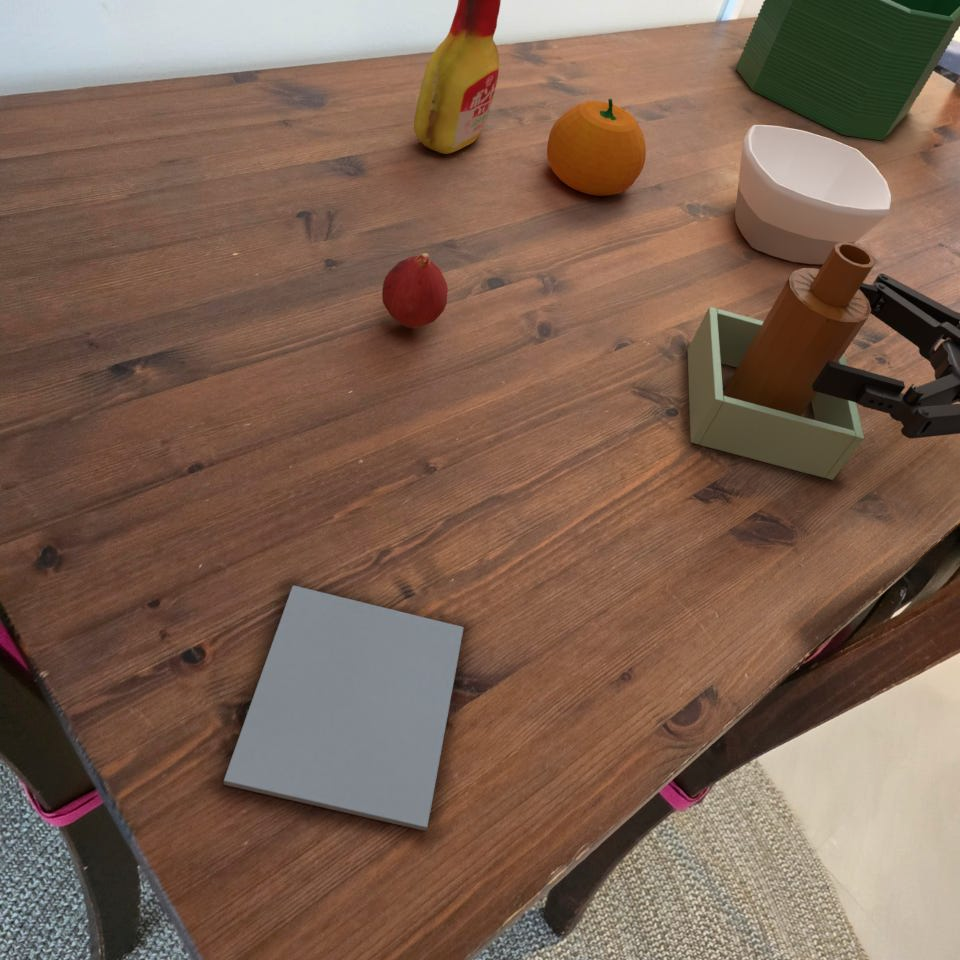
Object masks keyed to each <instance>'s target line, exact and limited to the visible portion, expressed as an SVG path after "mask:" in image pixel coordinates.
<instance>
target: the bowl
mask: <svg viewBox="0 0 960 960" xmlns="http://www.w3.org/2000/svg"><path fill="white" fill-rule="evenodd" d="M737 184H738V185H737V192H736V200H735V209H734V216H735V223H736V224H735V225H736V226H737V228H738V229H739V231H740V233H741V236H742V237H743V238H744V239H745V240H746V242H747V243H748V244H749V246H750V247H751V248H752V249H754V250H755V251H758V252H761V253H763V254H766V255H768V256H771V257H775V258H778V259H781V260H785V261H788V262H791V263H800V264H807V265H823V264H824V262H825V261H826V259H827V257H828V256H829V254H830V252H831V251H832V249H833V248H834V246H835V245H836V244H837V243H838V242H849V243H852V244H855V243H856V242H858V241H860V239H861V238H863V237H865V235H867V234H868V233H869V232H870V231H871V230H873V229H874V228H875V227H877V226H878V225H879V224H880V223H881V222H882V221H883V220H884V221H885V219H886V218H887V217H888V216H889V214H890V210H891V203H892V194H891V191H890V188H889V185H888V182H887V180H886V178H885V177H884V176H883V175H882V173H881V172H880V171H879V169H878V168H877V166H875V164H874V163H873V162H872V161H870V160H869V159H868V158H867V156H865V155H864V154H863V153H862V152H861V151H860V150H858V149H857V148H855V147H852V146H850V145H847V144H845V143H843V142H840V141H837V140H835V139H833V138H829V137H826V136H822V135H819V134H816V133H812V132H810V131H806V130H802V129H797V128H790V127H787V126H780V125H769V124H768V125H767V124H753V125H752V126H751V127H749V129H748V130H747V132H746V134H745V136H744V138H743V141H742V146H741V155H740V164H739V172H738V183H737Z"/></svg>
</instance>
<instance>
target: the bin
mask: <svg viewBox="0 0 960 960" xmlns="http://www.w3.org/2000/svg"><path fill="white" fill-rule="evenodd" d="M763 322H764V320H761V319H757V318H754V317H750V316H746V315H743V314H739V313H735V312H732V311H728V310H724V309H721V308H717V307H712V306H709V307H708V308H707V310H706V312H705V314H704V316H703V318H702V320H701V322H700V324H699V326H698V328H697V329H696V331H695V334H694V336H693V338H692V339H691V342H690V343H689V346H688V348H687V349H686V350H687V374H688V375H687V377H688V378H687V379H688V403H689V404H688V405H689V406H688V407H689V408H688V409H689V430H690V431H689V432H690V433H689V434H690V435H689V436H690V443H691V444H695V445H699V446H700V447H701V446H702V447H705V448H710V449H712V450H717V451H721V452H724V453H728V454H731V455H736V456H739V457H742V458H747V459H751V460H754V461H759V462H763V463H766V464H770V465H774V466H776V467H777V466H778V467H781V468H785V469H789V470H793V471H796V472H800V473H804V474H807V475H811V476H816V477H819V478H823V479H827V480H829V481H833V480H834V479H835V477H836V476H837V475H838V474H839V473H840V471H841V470H842V469H843V467H844V466H846V463H847V462H848V461H849V460H850V458H851V457H852V456H853V454H854V453H855V452H856V450H858V448H859V446H861V444H862V443H863V442H864V440H865V435H864V432H863V431H864V430H863V428H862V423H861V418H860V414H859V409H858V404H857V403H856V402H852V401H849V400H845V399H841V398H838V397H834V396H830V395H827V394H823V393H820V392H817V393H816V395H815V396H814V398H813V399H812V401H811V402H810V404H811V406H812V407H811V409H812V413H813V418H808V417H804V416H802V415H801V416H797V415H794V414H790V413H786V412H782V411H779V410H775V409H771V408H768V407H764V406H760V405H756V404H753V403H749V402H745V401H741V400H738V399H734V398H730V397H727V396H724V397H723V392H724V389H723V388H724V385H723V374H722V373H723V371H722V365H725V366H729V367H733V368H736V369H737V367H738V366H739V364H740V362H741V360H742V359H743V357H744V355H745V353H746V352H747V350H748V348H749V346H750V345H751V343H752V341H753V339H754V338H755V336H756V334H757V333H758V331H759V329H760V327H761V326H762V324H763ZM838 363H839V364H842V365H846V366H848V361H847V358H846V354H845V352H844V354H843V355H842V357H841V358H840V360H839V361H838Z"/></svg>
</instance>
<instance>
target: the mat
mask: <svg viewBox="0 0 960 960" xmlns="http://www.w3.org/2000/svg"><path fill="white" fill-rule="evenodd" d="M464 630H465V628H464V626H461V625H456V624H453V623H449V622H444V621H440V620H435V619H432V618H428V617H424V616H419V615H417V614H411V613H408V612H404V611H400V610H396V609H391V608H388V607H383V606H379V605H376V604H371V603H367V602H363V601H358V600H355V599H350V598H347V597H344V596H343V597H342V596H339V595H334V594H330V593H325V592H323V591H318V590H314V589H310V588H305V587H303V586H302V587H301V586H298V585H292V586H291V589H290V592H289V595H288V597H287V599H286V603H285V606H284V608H283V611H282V615H281V616H280V620H279V622H278V625H277V629H276V631H275V634H274V637H273V640H272V643H271V646H270V648H269V651H268V654H267V657H266V660H265V662H264V665H263V668H262V671H261V673H260V677H259V678H258V682H257V684H256V687H255V690H254V692H253V693H254V694H253V696H252V699H251V701H250V704H249V708H248V710H247V713H246V716H245V719H244V721H243V724H242V727H241V730H240V733H239V736H238V739H237V741H236V744H235V747H234V749H233V753H232V756H231V758H230V761H229V763H228V766H227V770H226V772H225V775H224V778H223V785H224V786H228V787H231V788H232V787H233V788H237V789H241V790H245V791H250V792H254V793H259V794H262V795H266V796H272V797H276V798H281V799H285V800H288V801H294V802H297V803H301V804H306V805H311V806H314V807H315V806H316V807H320V808H324V809H328V810H332V811H336V812H341V813H346V814H349V815H355V816H358V817H363V818H367V819H372V820H376V821H381V822H385V823H389V824H394V825H398V826H401V827H406V828H411V829H415V830H420V831H425V832H426V831H427V830H428V827H429V821H430V816H431V812H432V811H431V810H432V804H433V799H434V793H435V789H436V782H437V778H438V771H439V766H440V762H441V761H440V760H441V756H442V751H443V750H442V749H443V746H444V745H443V744H444V739H445V733H446V728H447V723H448V716H449V712H450V707H451V700H452V695H453V689H454V683H455V679H456V673H457V668H458V663H459V662H458V661H459V657H460V651H461V647H462V646H461V645H462V639H463V635H464Z"/></svg>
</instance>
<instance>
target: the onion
mask: <svg viewBox="0 0 960 960" xmlns="http://www.w3.org/2000/svg"><path fill="white" fill-rule="evenodd" d="M448 292H449V287H448V283H447V281H446V279H445V276H444V274H443V272H442V271H441V269H440V268H439V267H438V266H437V265H436V264H435V263H434V262H433V261H431V260H430V256H429V253H427V252H423V253H420V254H419V255H414V256H413V255H412V256H410V257H408V258H404V259H402V260H400V261H398V262H397V263H396V264H395V265H394V266H393V267H392V268H391V269H390V270H389V271H388V272H387V274H386V275H385V277H384V280H383V283H382V291H381V297H382V299H381V300H382V303H383V305H384V307H385V309H386V311H387V312H388V314H389V315H390V316H391V317H392V318H393V319H394V320H395V321H396V322H398V323H399V324H401V325H403V326H404V327H405V328H407V329H414V328H421V327H425V326H427V325H430V324H432V323H435V321H436V320H437V319H438V318H439V317H440V316H441V315H442V313H443V312H445V309H446V306H447V304H448Z"/></svg>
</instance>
